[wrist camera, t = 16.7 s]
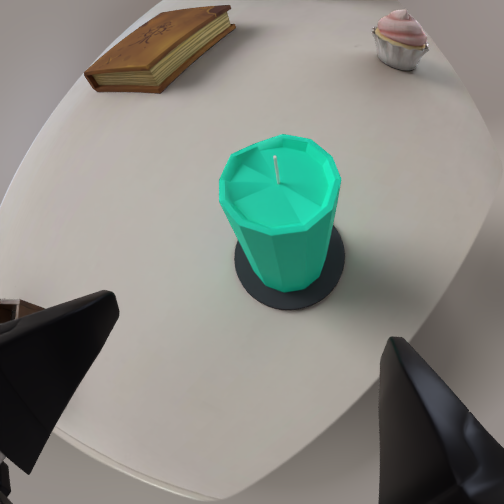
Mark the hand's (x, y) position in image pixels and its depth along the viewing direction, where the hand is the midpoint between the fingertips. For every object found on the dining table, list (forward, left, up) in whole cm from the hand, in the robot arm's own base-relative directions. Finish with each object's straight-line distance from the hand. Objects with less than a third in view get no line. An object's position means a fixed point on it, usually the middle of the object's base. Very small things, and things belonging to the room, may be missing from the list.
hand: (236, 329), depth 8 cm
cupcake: (+37, -23, -14) cm, 46 cm away
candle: (+7, -2, -13) cm, 15 cm away
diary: (+49, +16, -14) cm, 54 cm away
